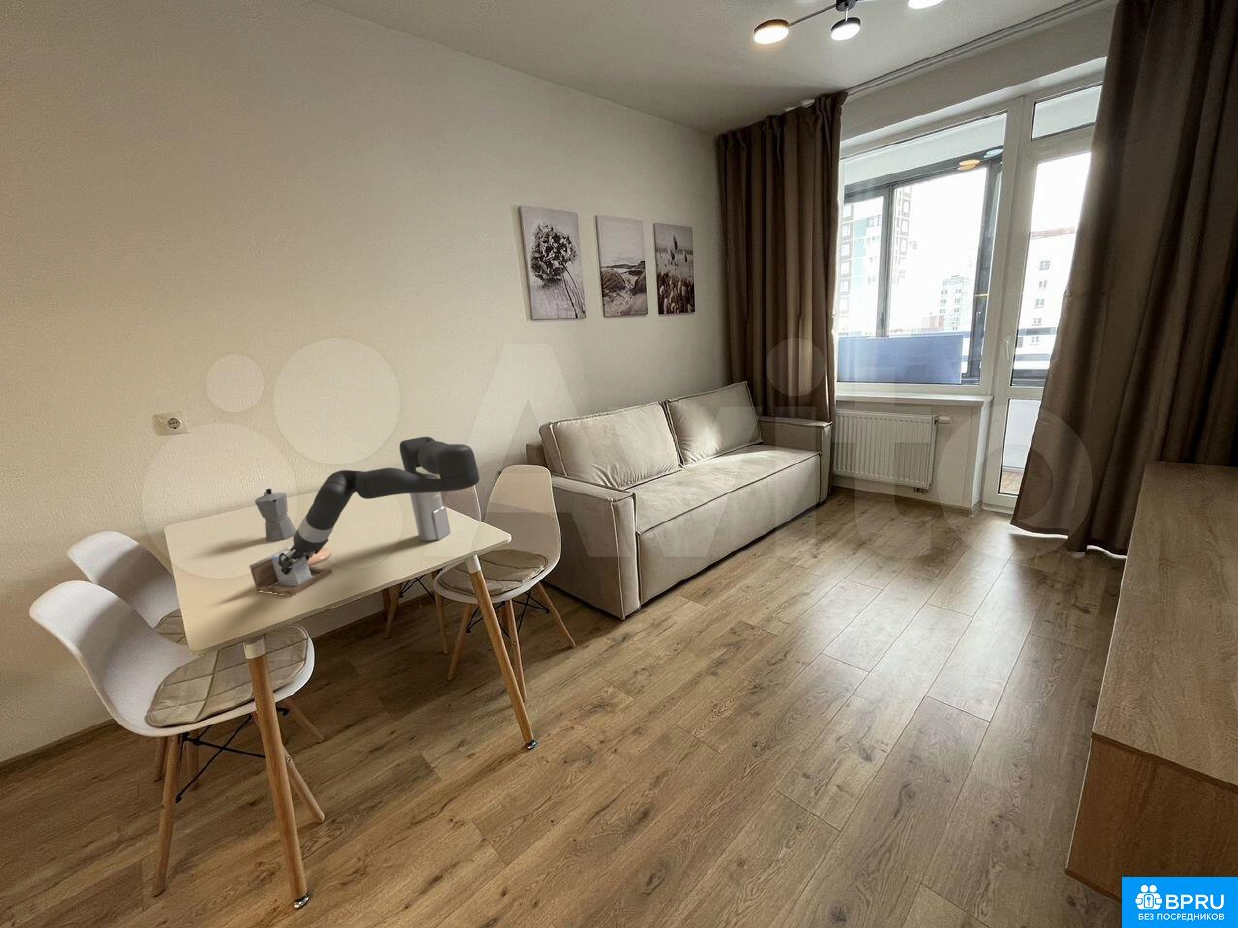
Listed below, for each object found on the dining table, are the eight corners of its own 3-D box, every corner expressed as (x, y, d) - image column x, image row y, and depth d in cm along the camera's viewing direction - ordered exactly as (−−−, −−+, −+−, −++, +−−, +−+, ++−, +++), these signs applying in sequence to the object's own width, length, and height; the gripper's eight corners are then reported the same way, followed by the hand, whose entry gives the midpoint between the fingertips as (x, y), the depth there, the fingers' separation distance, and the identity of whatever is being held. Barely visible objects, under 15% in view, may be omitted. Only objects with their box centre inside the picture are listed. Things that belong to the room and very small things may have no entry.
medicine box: (313, 579, 144) (305, 552, 142) (299, 587, 140) (290, 559, 138) (292, 577, 147) (285, 550, 145) (278, 585, 143) (270, 557, 141)
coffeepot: (301, 536, 179) (288, 488, 174) (270, 545, 173) (255, 496, 168) (291, 526, 190) (278, 481, 185) (261, 535, 184) (247, 488, 179)
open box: (332, 573, 147) (325, 547, 145) (291, 596, 136) (283, 568, 134) (299, 569, 152) (292, 544, 150) (257, 591, 140) (248, 565, 138)
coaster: (339, 552, 162) (339, 549, 162) (306, 569, 151) (306, 566, 151) (311, 549, 166) (311, 546, 166) (277, 566, 155) (277, 563, 155)
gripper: (300, 551, 128) (278, 590, 136) (346, 529, 141) (323, 565, 149) (280, 531, 129) (259, 570, 136) (327, 511, 142) (305, 547, 149)
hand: (293, 567), depth 142 cm, fingers closed on medicine box, 4 cm apart
